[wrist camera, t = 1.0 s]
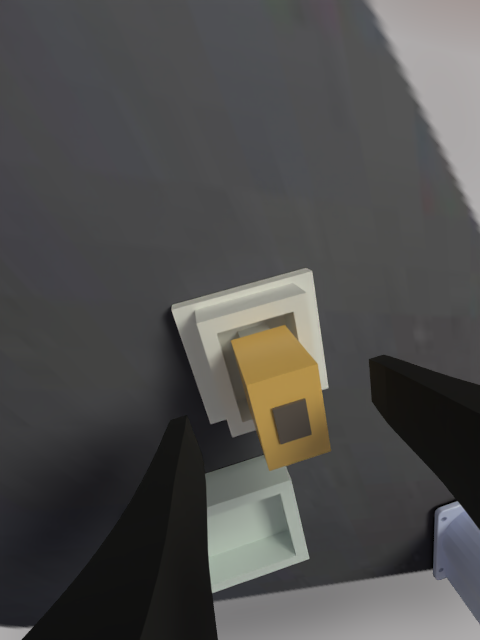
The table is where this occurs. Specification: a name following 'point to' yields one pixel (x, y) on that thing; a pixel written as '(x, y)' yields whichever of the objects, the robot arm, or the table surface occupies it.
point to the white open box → (223, 325)
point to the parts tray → (251, 522)
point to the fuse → (282, 394)
